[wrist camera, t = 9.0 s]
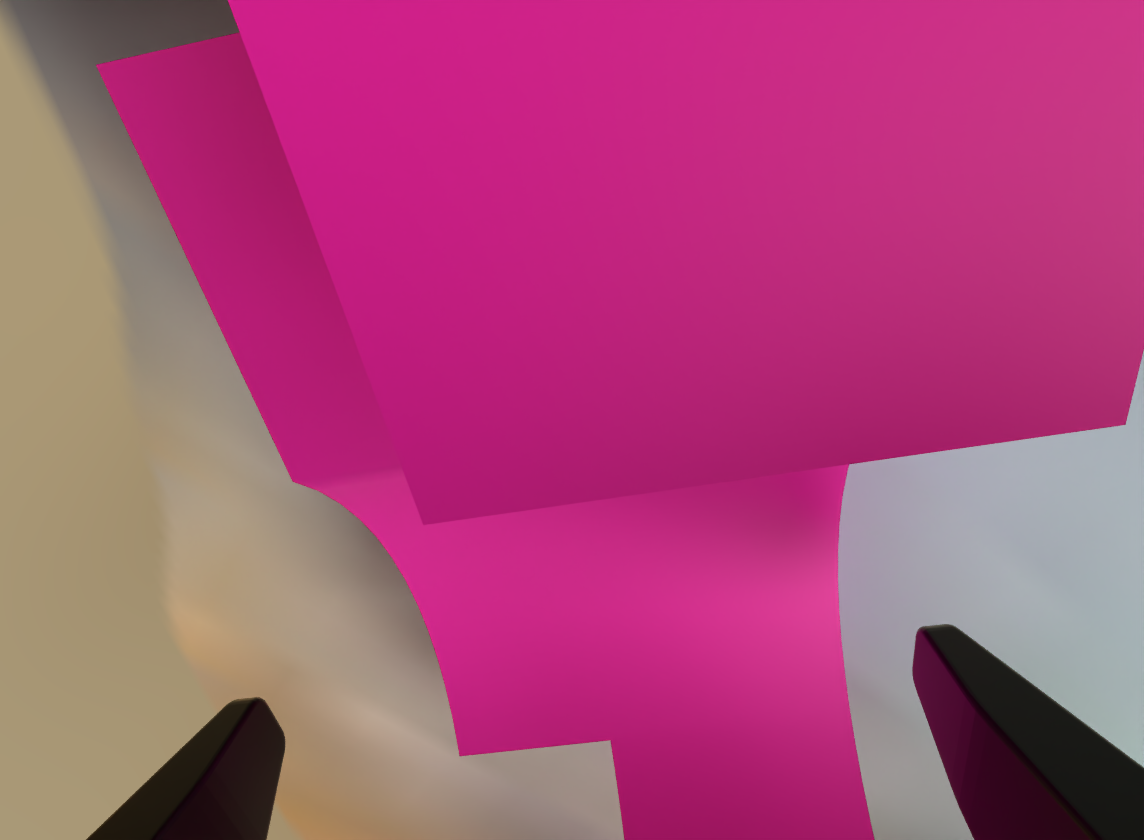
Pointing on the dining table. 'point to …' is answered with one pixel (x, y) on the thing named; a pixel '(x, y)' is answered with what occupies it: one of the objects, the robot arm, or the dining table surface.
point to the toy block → (654, 325)
